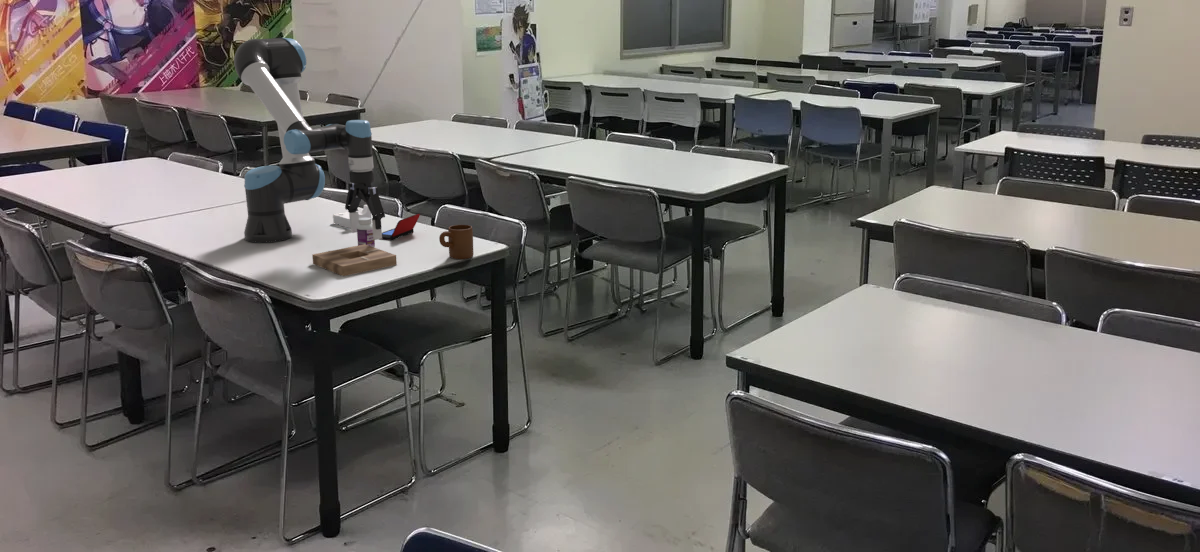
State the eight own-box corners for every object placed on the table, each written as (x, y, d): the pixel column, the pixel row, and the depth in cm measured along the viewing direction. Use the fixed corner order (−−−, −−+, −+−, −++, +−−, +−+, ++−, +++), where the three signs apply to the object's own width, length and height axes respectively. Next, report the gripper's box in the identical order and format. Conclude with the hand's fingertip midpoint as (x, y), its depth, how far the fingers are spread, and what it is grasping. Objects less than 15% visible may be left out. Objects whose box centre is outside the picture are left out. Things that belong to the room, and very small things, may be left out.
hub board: (313, 264, 293) (312, 253, 292) (365, 253, 305) (364, 243, 304) (343, 276, 280) (342, 265, 279) (396, 264, 292) (396, 254, 291)
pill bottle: (370, 250, 308) (368, 220, 306) (355, 249, 309) (353, 220, 307) (377, 246, 313) (376, 217, 311) (362, 245, 314) (360, 216, 312)
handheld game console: (396, 230, 334) (394, 209, 332) (422, 234, 330) (421, 212, 328) (373, 238, 324) (372, 217, 321) (400, 242, 319) (399, 220, 317)
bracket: (371, 226, 340) (370, 205, 338) (354, 230, 335) (352, 209, 333) (350, 220, 349) (349, 200, 346) (333, 224, 344) (332, 203, 342)
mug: (448, 264, 293) (447, 233, 291) (432, 259, 298) (431, 229, 295) (478, 256, 302) (477, 227, 299) (462, 252, 307) (461, 223, 304)
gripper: (330, 166, 310) (336, 231, 316) (371, 176, 293) (376, 244, 299) (351, 164, 315) (356, 227, 321) (393, 173, 298) (397, 239, 304)
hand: (366, 235), depth 310 cm, fingers open, 13 cm apart
